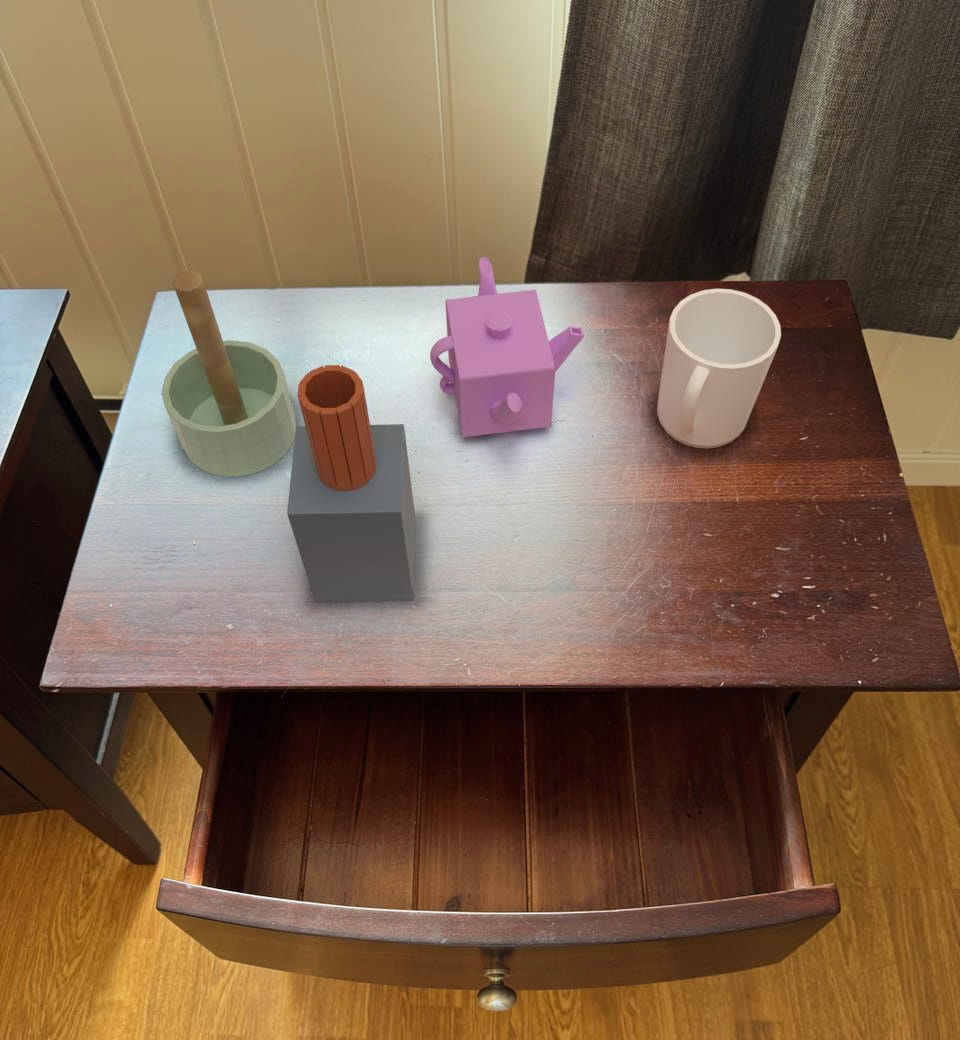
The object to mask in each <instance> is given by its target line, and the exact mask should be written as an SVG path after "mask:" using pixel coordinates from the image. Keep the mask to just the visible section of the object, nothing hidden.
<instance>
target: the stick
mask: <svg viewBox="0 0 960 1040" xmlns="http://www.w3.org/2000/svg"><path fill="white" fill-rule="evenodd" d="M172 286H173V289H174V291H175V294H176V297H177V299H178V302H179V305H180V308H181V310H182V313H183V317H184V319H185V321H186V324H187V327H188V330H189V333H190V335H191V337H192V340H193V342H194V346H195V349H197V352H198V354H199V357H200V360H201V363H202V365H203V368H204V371H205V374H206V376H207V379H208V382H209V385H210V387H211V390H212V393H213V396H214V398H215V401H216V404H217V406H218V409H219V412H220V415H221V417H222V420H223V423H224V425H231V424H237V423H239V422H241V421H243V420H246V419H248V415H247V412H246V409H245V406H244V403H243V400H242V397H241V394H240V391H239V388H238V385H237V382H236V379H235V376H234V373H233V370H232V367H231V364H230V361H229V358H228V354H227V351H226V348H225V345H224V342H223V341H224V340H223V337H222V334H221V331H220V328H219V324H218V321H217V319H216V316H215V311H214V309H213V306H212V302H211V300H210V296H209V295H208V291H207V287H206V285H205V282H204V279H203V276H202V275H201V274H200V273H199V272H198V271H195V270H184V271H180V272H179V273H178V274H176V275H175V276H174V278H173V280H172Z"/></svg>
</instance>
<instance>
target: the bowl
mask: <svg viewBox="0 0 960 1040" xmlns="http://www.w3.org/2000/svg"><path fill="white" fill-rule="evenodd" d="M223 342H224V345H225V348H226V351H227V354H228V358H229V361H230V364H231V367H232V370H233V373H234V376H235V379H236V382H237V385H238V388H239V391H240V394H241V397H242V400H243V403H244V406H245V409H246V412H247V415H248V419H246V420H243V421H241V422H239V423H237V424H231V425H224V423H223V420H222V417H221V415H220V412H219V409H218V406H217V404H216V401H215V398H214V396H213V393H212V390H211V387H210V385H209V382H208V379H207V376H206V374H205V371H204V368H203V365H202V363H201V360H200V357H199V354H198V352H197V349H196V348H195V349H192V350H190V351H188V352H187V353H186V354H184V355H183V356H182V357H181V358H179V359H178V360H177V361H175V362H174V364H172V366H171V368H170V369H169V371H168V372H167V373H166V375H165V376H164V379H163V384H162V388H161V389H162V391H161V397H162V401H163V404H164V408H165V410H166V413H167V415H168V417H169V420H170V422H171V425H172V426H173V428H174V431H175V433H176V436H177V438H178V440H179V443H180V445H181V448H182V449H183V451H184V452H185V455H186V456H187V458H188V459H189V460H190V462H191V463H193V464H194V465H195V467H197V468H199V469H200V470H202V471H204V472H205V473H208V474H211V475H215V476H218V477H226V478H238V477H239V478H240V477H246V476H251V475H254V474H257V473H260V472H262V471H265V470H267V469H268V468H270V467H272V466H273V465H275V464H276V463H277V462H279V461H280V460H281V459H282V458H283V457H284V456H286V454H287V453H288V451H289V450H290V449H291V447H292V445H293V444H294V441H295V431H296V427H297V420H296V414H295V410H294V406H293V402H292V399H291V394H290V391H289V387H288V384H287V379H286V376H285V373H284V371H283V368H282V365H281V363H280V361H279V360H278V359H277V358H276V356H275V355H273V354H272V353H271V352H270V351H269V350H268V349H267V348H264V347H262V346H260V345H257V344H255V343H253V342H249V341H240V340H230V339H228V340H227V339H226V340H223Z"/></svg>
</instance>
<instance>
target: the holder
mask: <svg viewBox="0 0 960 1040" xmlns="http://www.w3.org/2000/svg"><path fill="white" fill-rule="evenodd" d="M297 399H298V403H299V407H300V412H301V415H302V418H303V423H304V425H296V431H295V438H294V441H293V453H292V460H291V470H290V471H291V472H290V482H289V492H288V493H289V494H288V499H287V500H288V502H287V511H286V514H287V518H288V522H289V524H290V528H291V531H292V534H293V538H294V540H295V543H296V547H297V550H298V552H299V556H300V559H301V562H302V565H303V569H304V571H305V575H306V578H307V581H308V584H309V587H310V590H311V594H312V596H313V599H314V602H315V603H333V602H336V603H337V602H338V603H340V602H382V601H383V602H388V601H414V599H415V571H416V569H415V565H416V564H415V563H416V527H417V526H416V524H417V523H416V522H417V518H416V511H415V504H414V496H413V487H412V479H411V473H410V472H411V471H410V464H409V456H408V455H409V454H408V447H407V438H406V431H405V430H406V429H405V424H403V423H401V424H400V423H396V424H394V423H393V424H371V422H370V417H369V411H368V410H369V409H368V404H367V398H366V391H365V386H364V382H363V380H362V378H361V377H360V376H359V374H358V373H357V372H356V371H355V370H354V369H352V368H349V367H347V366H344V365H340V364H325V365H324V366H323V365H321V366H319V367H317V368H314V369H312V370H309V372H307V373H306V374H305V375H304V376H303V377H302V379H301V380H300V381H299V383H298V385H297Z"/></svg>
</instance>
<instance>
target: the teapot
mask: <svg viewBox="0 0 960 1040" xmlns="http://www.w3.org/2000/svg"><path fill="white" fill-rule="evenodd" d="M478 273H479V285H478V295H475V296H467V297H466V296H465V297H458V298H447V299H445V300H444V301H445V302H444V303H445V318H446V334H447V335H446V336H445V337H442V338H440V339H438V340H437V341H436V342H435V343H434V344H433V345H432V347H431V349H430V353H429V360H430V363H431V365H432V366H433V368H434V369H435V370H436V371H437V372H438V373H439V375H441V376H442V377H441V378H440V381H439V387H440V390H441V392H443V393H444V394H445V395H448V396H449V395H451V396H452V395H453V396H454V399H455V405H456V409H457V416H458V421H459V426H460V433H461V437H462V438H469V437H478V436H484V435H492V434H493V435H494V434H501V433H510V432H511V433H512V432H518V431H525V430H526V431H527V430H535V429H543V428H544V429H545V428H552V422H553V421H552V419H553V407H554V406H553V405H554V393H555V392H554V391H555V379H556V372H557V371H558V370H559V369H560V367H561V366H562V365H563V364H564V362H566V360H567V359H568V357H569V356H570V355H571V354H572V353H573V352H574V350H575V349H576V348H577V347H578V345H579V344H580V342H582V339H584V337H585V333H584V329H583V327H580V326H570V325H569V326H568V327H567V328H566V329H564V330H562V331H561V332H560V333H558V334H557V335H555V336H554V337H552V338H551V339H549V337H548V333H547V328H546V325H545V320H544V318H543V311H542V309H541V304H540V300H539V296H538V292H537V290H536V289H529V290H519V291H510V292H509V291H508V292H502V293H498V291H497V286H496V282H495V278H494V271H493V266H492V263H491V261H490V260H489V258H487V257H486V256H482V257H481V258H480V259H479V261H478ZM447 351H448V352H447ZM445 352H447V353H448V363H449V365H447V364H446V363H445V362H443V361H442V359H440V356H441V355H442V354H443V353H445Z"/></svg>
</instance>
